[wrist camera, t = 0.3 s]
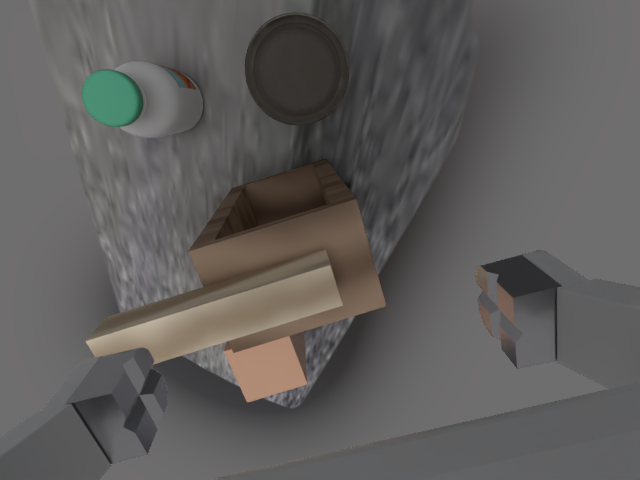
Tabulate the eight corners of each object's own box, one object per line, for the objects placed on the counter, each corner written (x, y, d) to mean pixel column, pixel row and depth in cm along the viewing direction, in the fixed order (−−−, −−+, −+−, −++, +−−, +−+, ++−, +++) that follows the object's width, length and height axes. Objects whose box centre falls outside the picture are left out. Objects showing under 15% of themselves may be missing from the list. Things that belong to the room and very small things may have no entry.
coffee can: (346, 97, 53) (366, 94, 40) (280, 135, 54) (278, 143, 41) (310, 21, 50) (318, -11, 36) (240, 63, 51) (223, 46, 37)
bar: (106, 317, 32) (85, 341, 29) (325, 248, 32) (330, 265, 29) (125, 351, 33) (107, 378, 30) (337, 285, 33) (342, 305, 30)
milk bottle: (216, 109, 52) (176, 110, 33) (172, 144, 53) (108, 163, 34) (176, 57, 50) (109, 26, 31) (131, 94, 51) (38, 86, 32)
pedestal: (238, 294, 61) (223, 351, 47) (287, 279, 61) (287, 331, 47) (256, 336, 64) (247, 402, 49) (303, 322, 63) (307, 384, 49)
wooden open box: (231, 188, 56) (188, 251, 31) (325, 158, 55) (356, 198, 31) (255, 251, 59) (233, 353, 34) (344, 223, 59) (386, 306, 34)
